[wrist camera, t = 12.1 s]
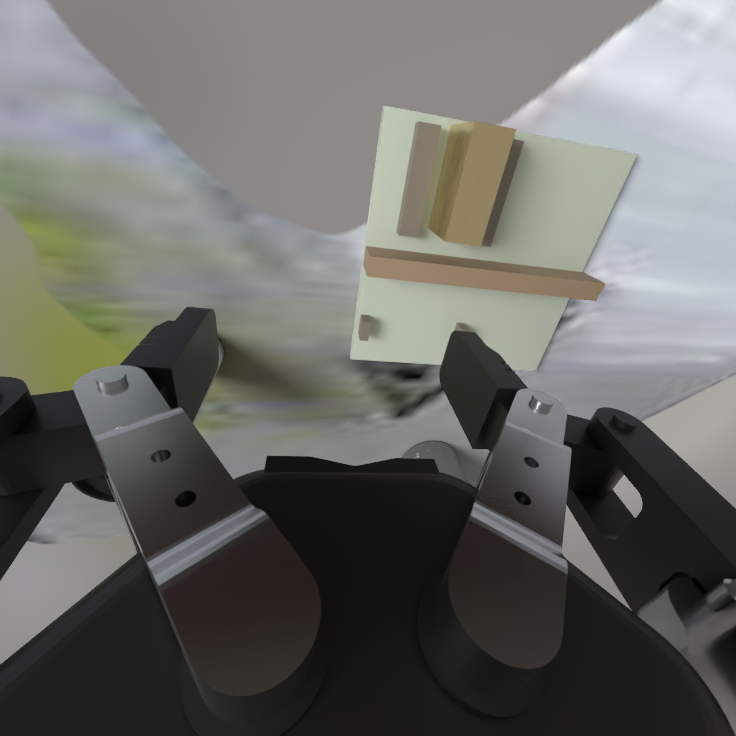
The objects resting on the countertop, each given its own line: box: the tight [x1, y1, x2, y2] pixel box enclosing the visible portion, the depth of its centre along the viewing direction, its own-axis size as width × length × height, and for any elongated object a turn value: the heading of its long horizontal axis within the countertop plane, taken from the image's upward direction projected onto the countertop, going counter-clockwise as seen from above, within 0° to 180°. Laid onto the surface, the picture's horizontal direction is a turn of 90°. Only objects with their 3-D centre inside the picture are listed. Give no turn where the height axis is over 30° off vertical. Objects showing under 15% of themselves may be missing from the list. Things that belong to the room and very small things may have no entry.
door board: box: [350, 106, 638, 371], centre depth 38 cm, size 26×26×5 cm
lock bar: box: [428, 121, 516, 246], centre depth 32 cm, size 9×4×6 cm, turn 172°
